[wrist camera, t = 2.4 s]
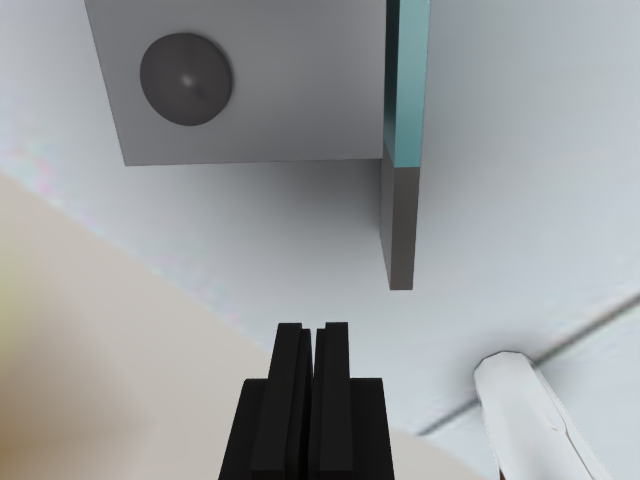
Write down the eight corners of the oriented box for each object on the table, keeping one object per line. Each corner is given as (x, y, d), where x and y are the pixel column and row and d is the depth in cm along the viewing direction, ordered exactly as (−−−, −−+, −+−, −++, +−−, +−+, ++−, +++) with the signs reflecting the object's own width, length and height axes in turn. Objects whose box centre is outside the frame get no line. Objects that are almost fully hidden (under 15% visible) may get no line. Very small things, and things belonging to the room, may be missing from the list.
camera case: (124, -115, 15) (17, -176, 10) (374, -131, 14) (393, -202, 10) (171, 128, 19) (110, 172, 14) (371, 121, 18) (384, 164, 13)
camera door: (384, -154, 14) (403, -217, 10) (417, -157, 14) (448, -219, 10) (377, 235, 20) (387, 290, 16) (400, 234, 20) (415, 289, 16)
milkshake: (437, 399, 25) (492, 614, 16) (490, 329, 23) (587, 535, 14) (508, 423, 26) (597, 642, 17) (566, 357, 23) (705, 572, 15)
